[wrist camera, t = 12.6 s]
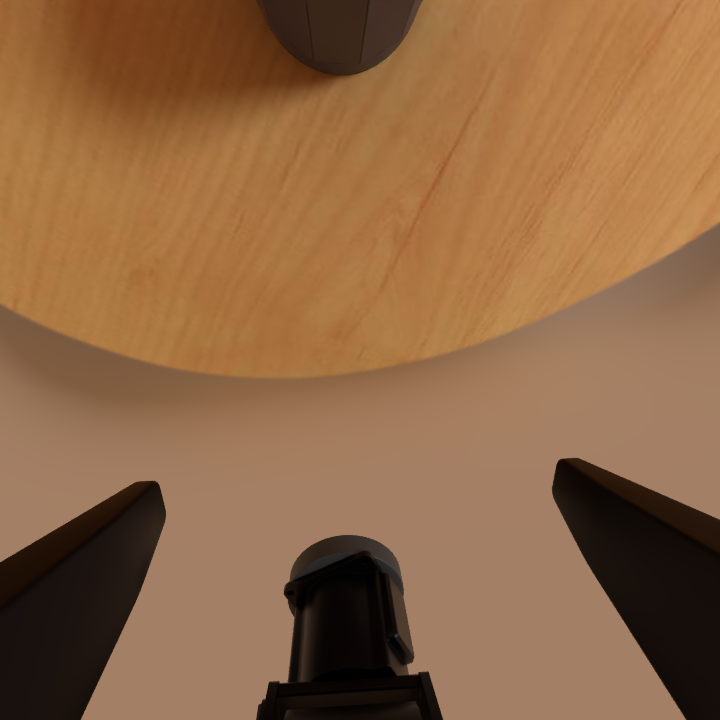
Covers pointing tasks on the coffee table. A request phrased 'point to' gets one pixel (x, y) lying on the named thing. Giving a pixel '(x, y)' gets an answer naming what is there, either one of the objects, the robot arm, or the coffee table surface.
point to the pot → (340, 30)
